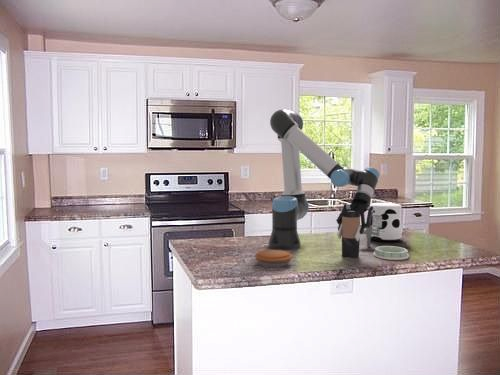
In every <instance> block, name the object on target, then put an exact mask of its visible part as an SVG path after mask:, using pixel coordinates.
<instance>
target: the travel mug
mask: <svg viewBox="0 0 500 375" xmlns="http://www.w3.org/2000/svg"><path fill="white" fill-rule="evenodd" d="M342 210H343V209H342ZM342 210H341V211H342ZM359 225H361V216H360V211H359V210H353V209H351V208H349V209H346V210H343V211H342V236H341V256H342V258H346V259H357V258H359V257H360V239H361V238H359V241H356V239H355V236H356V233H357V230H358V228H359Z"/></svg>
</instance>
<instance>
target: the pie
mask: <svg viewBox="0 0 500 375" xmlns="http://www.w3.org/2000/svg"><path fill="white" fill-rule="evenodd" d="M293 256H294V255H293V253H291V252H288V250H279V249H264V250H260V251H258V252H257V253H255V254H254V257H255V259H257V261H258V263H259V265H260V266H263V267H266V268H283V267H286V266H287V265H288V264H289V263H290V261H291V259H292V258H293Z"/></svg>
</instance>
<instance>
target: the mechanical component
mask: <svg viewBox="0 0 500 375" xmlns="http://www.w3.org/2000/svg"><path fill="white" fill-rule="evenodd" d="M360 225H361V226H362V224H360ZM380 229H381V227H379V226H377V228H376V229H373V228H372V225H370V228H368V227H367V228H365V230H364V232H363V234H362V235H366V237H365V238H366V239H367V240H366V246H367V248H370V247H371V245H372V244H371V240H372V239H371V237H372V234H378V233H379V230H380ZM372 230H373V231H377V232H376V233H374V232H372Z"/></svg>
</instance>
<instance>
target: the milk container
mask: <svg viewBox="0 0 500 375" xmlns="http://www.w3.org/2000/svg"><path fill="white" fill-rule="evenodd" d="M371 206H372V207H373V208H374V212H373V214H372V219H371V225H372V228H373V229H376V228H377V226H379V227H381V229H380V230H379V233H378V234H372V237H371V240H374V241H376V242H377V241H378V242H396V241H400V240H401V239H402V238H403V233H404V232H403V231H404V229H403V224H402V208H403V207H402V205H401V204H399V203H393V202H392V203H390V202H373V203H370V204H369V207H371ZM372 232H374V233H376V232H377V231H373V230H372Z"/></svg>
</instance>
